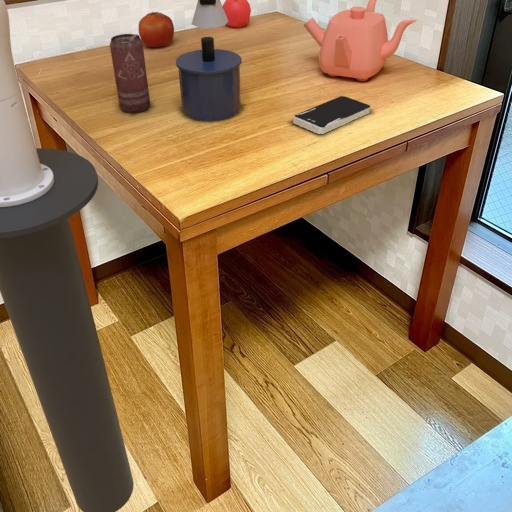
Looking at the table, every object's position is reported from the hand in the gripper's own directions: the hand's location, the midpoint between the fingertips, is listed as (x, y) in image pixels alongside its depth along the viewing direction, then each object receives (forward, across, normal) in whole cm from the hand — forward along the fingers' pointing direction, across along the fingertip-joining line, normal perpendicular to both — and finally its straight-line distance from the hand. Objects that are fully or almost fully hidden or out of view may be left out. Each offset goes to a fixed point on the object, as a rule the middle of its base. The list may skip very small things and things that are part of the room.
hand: (208, 0), depth 120 cm
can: (+18, +11, -15) cm, 26 cm away
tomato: (+18, -28, -15) cm, 36 cm away
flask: (+5, 0, 0) cm, 5 cm away
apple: (+18, -43, +5) cm, 47 cm away
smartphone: (+18, +18, +24) cm, 35 cm away
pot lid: (+8, +13, 0) cm, 15 cm away
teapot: (+18, -7, +32) cm, 37 cm away
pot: (+18, +13, 0) cm, 22 cm away
